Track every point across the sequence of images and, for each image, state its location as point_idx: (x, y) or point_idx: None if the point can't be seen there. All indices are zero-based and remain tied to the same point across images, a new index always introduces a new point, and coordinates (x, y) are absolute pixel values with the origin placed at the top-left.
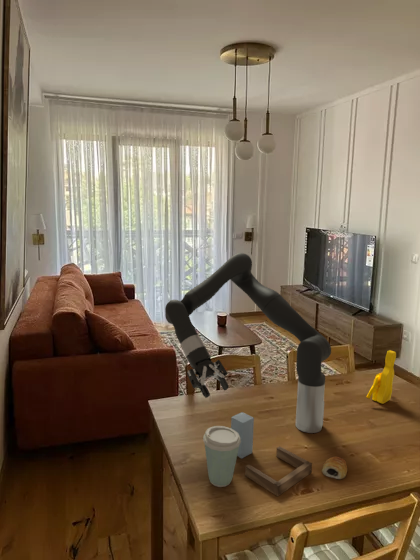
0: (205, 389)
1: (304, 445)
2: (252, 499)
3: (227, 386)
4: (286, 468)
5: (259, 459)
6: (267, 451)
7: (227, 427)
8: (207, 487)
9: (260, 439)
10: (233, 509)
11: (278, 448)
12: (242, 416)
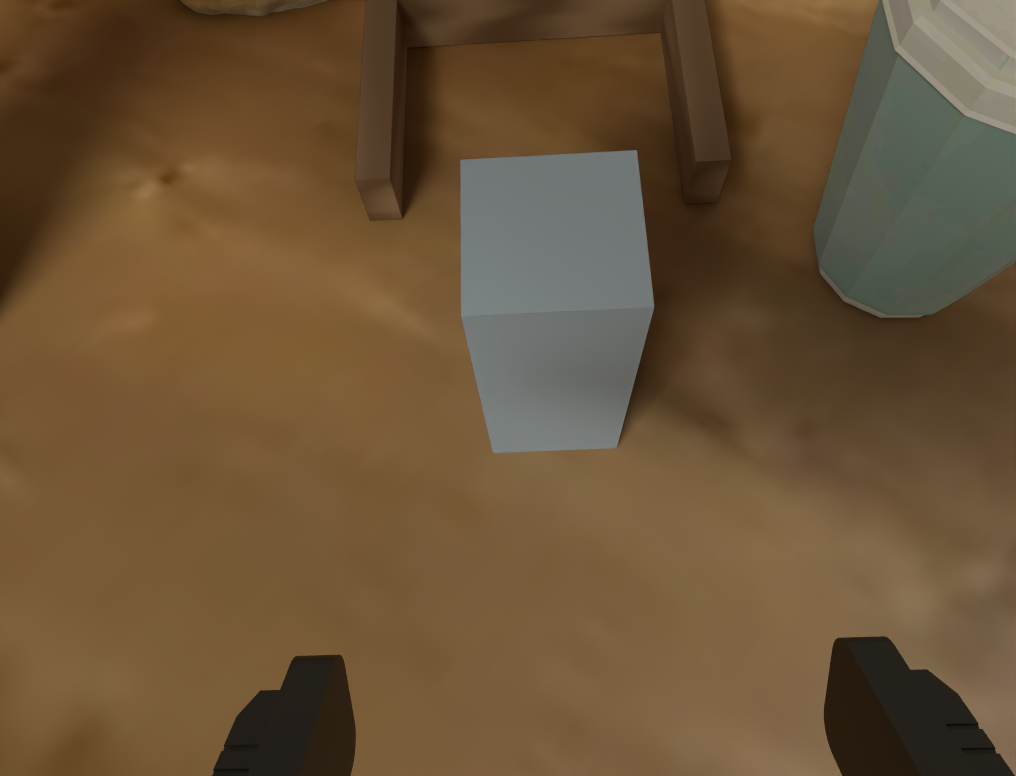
0: (956, 753)
1: (151, 195)
2: (818, 58)
3: (309, 666)
4: (455, 116)
5: None
6: (396, 289)
7: (978, 14)
8: None
9: (302, 423)
10: None
11: (385, 168)
12: (539, 242)
